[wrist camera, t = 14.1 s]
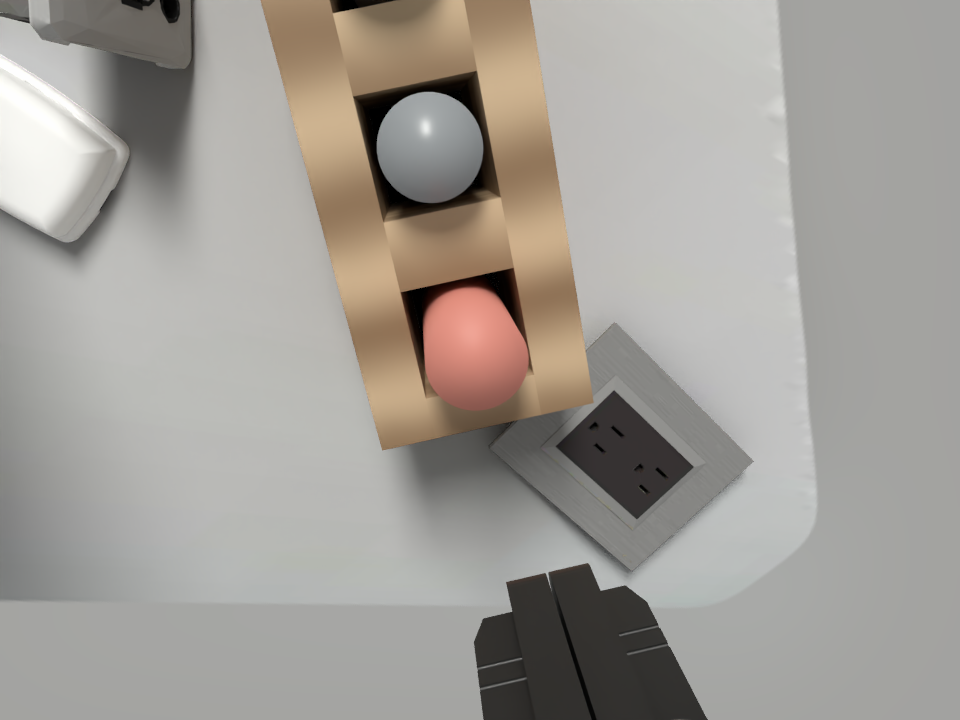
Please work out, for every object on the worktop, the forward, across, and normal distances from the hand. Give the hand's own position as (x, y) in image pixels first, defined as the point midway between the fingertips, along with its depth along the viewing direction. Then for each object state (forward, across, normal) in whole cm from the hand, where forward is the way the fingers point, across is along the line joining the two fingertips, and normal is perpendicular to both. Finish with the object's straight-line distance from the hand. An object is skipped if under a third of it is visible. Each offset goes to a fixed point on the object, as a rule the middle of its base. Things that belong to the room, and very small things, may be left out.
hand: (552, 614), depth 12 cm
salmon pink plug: (+25, 0, 0) cm, 25 cm away
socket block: (+29, 0, -8) cm, 30 cm away
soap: (+30, +20, -12) cm, 38 cm away
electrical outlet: (+30, -8, +12) cm, 33 cm away
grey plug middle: (+27, 0, -8) cm, 28 cm away
